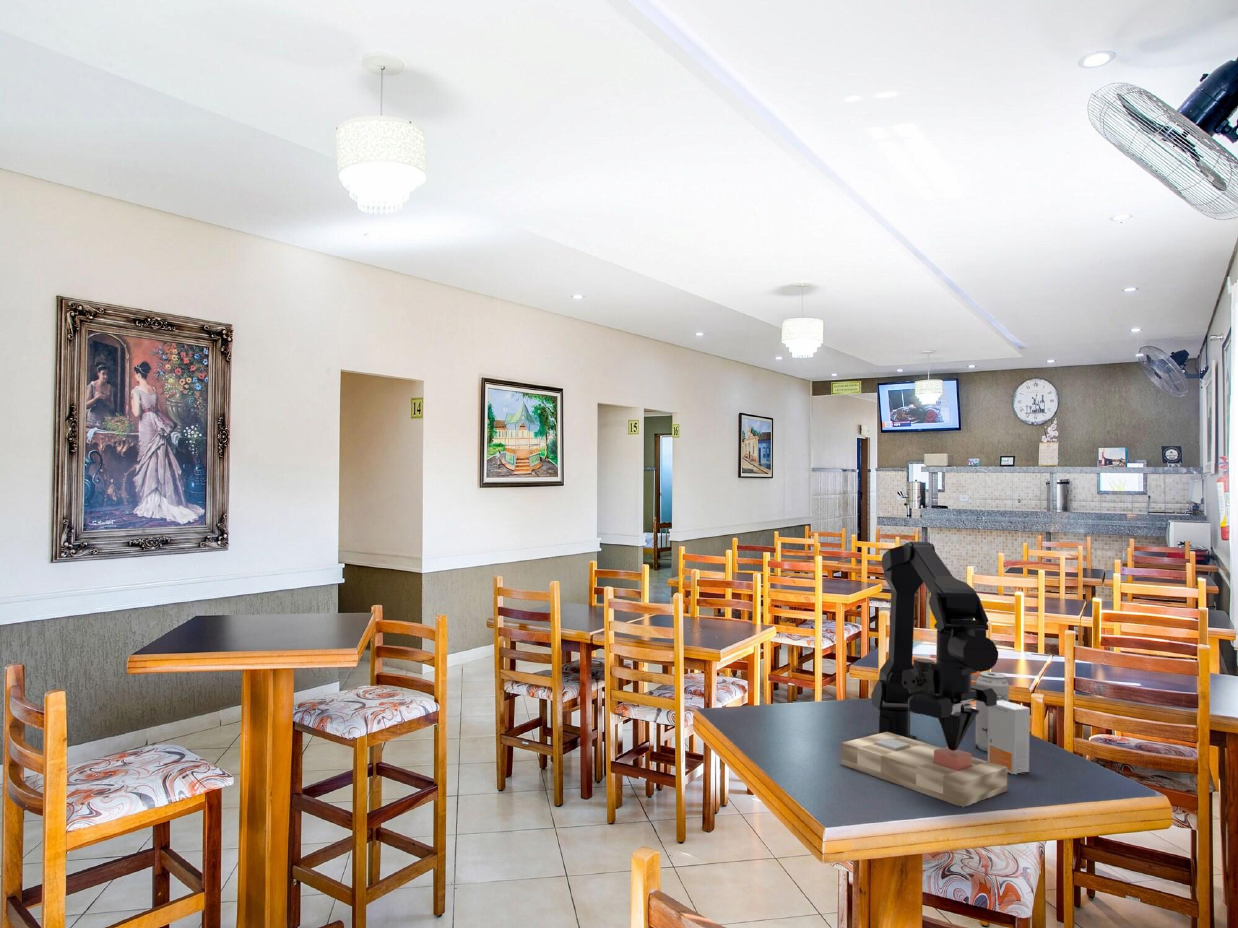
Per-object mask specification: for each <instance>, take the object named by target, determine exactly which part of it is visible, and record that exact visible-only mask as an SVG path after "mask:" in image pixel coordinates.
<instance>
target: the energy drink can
mask: <svg viewBox="0 0 1238 928" xmlns="http://www.w3.org/2000/svg"><path fill="white" fill-rule="evenodd" d="M1006 678H1007V676H1006V675H1005V674H1002V673H997V672H990V671H983V672H979V676H978V678H977V679H976V682H975V685H980V686H984V687H989V688H992V689H993V690H994V691H995V693H996V694H997V701H1000V700H1004V701H1007V702H1010V695H1009V694H1010V685H1009V684H1010V683H1009V682H1008V680H1007V679H1006ZM975 709H976V710H979V714H977V715H976V717H975V744H976V745H977V747H978V749H979V750H981V751H983V752H987V753H988V711H989V706H986V705H985V703H984V702H981V701H977V700H975Z"/></svg>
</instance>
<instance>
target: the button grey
mask: <svg viewBox="0 0 1238 928" xmlns="http://www.w3.org/2000/svg"><path fill="white" fill-rule="evenodd" d="M875 745H877V746H881V747H884V748H887V749H890V750H893V751H899V750H903V749H907V748H910V744H908V743H904V742H901V741H898V740H894V739H891V738H887V739H883V740H879V741H875Z"/></svg>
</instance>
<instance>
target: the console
mask: <svg viewBox="0 0 1238 928" xmlns="http://www.w3.org/2000/svg"><path fill="white" fill-rule="evenodd" d="M887 738H891V739H894V740H898V741H901V742H904V743H908V744H910V748H907V749H903V750H899V751H893V750H890V749H887V748H884V747H881V746H877V745H875V741H879V740H883V739H887ZM941 748H942V747H939V746H935V745H934V744H933V745H932V744H929V743H926V742H923V741H919V740H917V739H915V740H913V739H910V738H906V737H903V736H900V735H896V734H893V733H890V732H884V733H880V734H876V735H873V734H871V735H868V736H864V737H860V738H855V739H852V740H847V741H843V742H841V759H840V760H841V765H842V766H844V767H847V768H850V769H854V770H856V771H859V772H862V773H865V774H867V775H870V776H874V777H875V778H878V779H882V780H884V781H888V782H889V783H893V784H896V785H899V786H901V787H904V788H907V789H910V790H913V791H915V792H918V793H921V794H924V795H927V796H929V797H932V798H936V799H938V800H941V801H944V802H946V803H949V804H952V805H955V806H958V807H960V806H962V807H961V808H966V807H968V806H971V805H973V803H974V804H976V803H978V801H979V802H981V800H982V801H983V800H986V798H987V799H989V798H992V797H995V796H997V795H1000V794H1003V793H1005V792H1008V772H1007V767H1004V766H1001V765H997V764H994V763H991V762H987V760H984V759H980V758H977V757H973V756H972V762H971V767H969V768H966V769H963V770H960V771H956V770H953V769H950V768H947V767H944V766H941V765H937V764H934V750H938V749H941ZM965 806H966V807H965Z"/></svg>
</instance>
